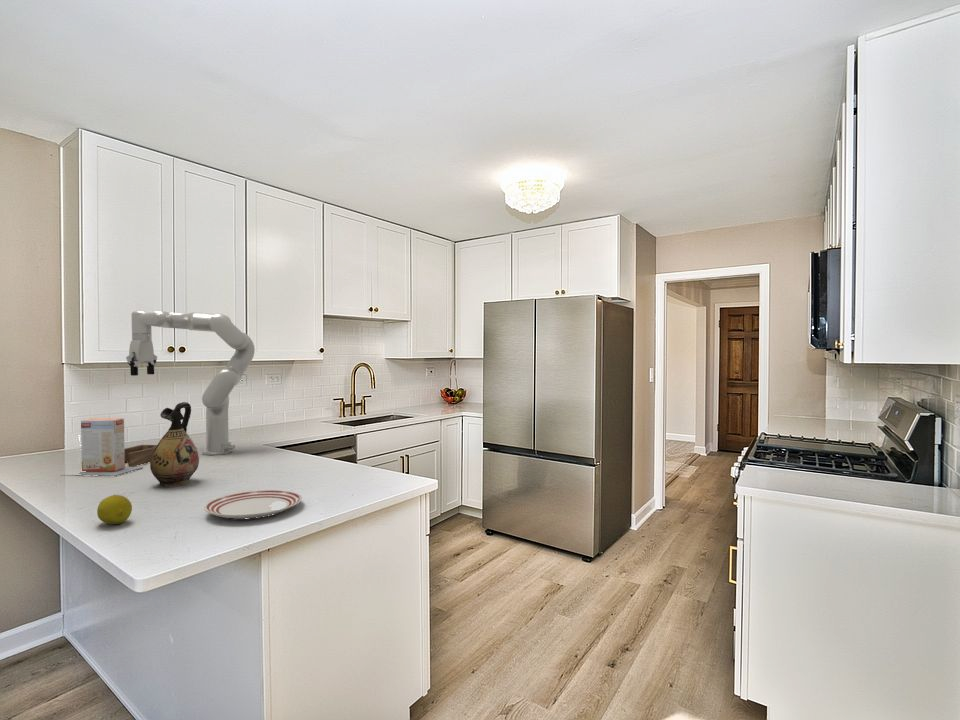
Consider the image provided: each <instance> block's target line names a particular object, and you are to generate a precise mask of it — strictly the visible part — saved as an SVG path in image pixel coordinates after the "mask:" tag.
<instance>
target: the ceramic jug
mask: <svg viewBox="0 0 960 720" xmlns="http://www.w3.org/2000/svg"><path fill="white" fill-rule="evenodd" d="M182 409H184V414H183V413H182V412H181V411H182ZM191 413H192V406H191V404H190V403H189V402H186V401H182V402H179V403H177V404H176V405H175V406H174V408H173V409H172V408H169V407H166V408H164V409H163V410H161V411H160V417H161V419H164V420H166V421H169V422H171V424H170V427H169V428H168V430H167V431H166V433H164V435H163V436H162V438H161V439H160V440H159V442H158V443H157V444H156V445H157V446H156V448H155V450H154V452H153V454H152V458H151V462H150V463H149V464H150V465H149V466H150V468H149V469H150V471H151V474H152V475H153V477H154V478H155V479H156V480H157V481H158V483H159V486H160V487H162V486H163V487H162V488H164V487H170V486H172V487H178V485H180V486H182V484H183V485H186V484H188V483H189V481H190V480H191V477H192V476H193V475H194V474H195V472H196V471H197V470H198V468H199V464H200V457H199V456H200V455H199V451H198V448H197V446H196V445H195V443H194V441H193V440H192V438H191V437H190V435H189V434H188V432H187V431H188V424H189V421H190V418H191ZM185 483H186V484H185Z"/></svg>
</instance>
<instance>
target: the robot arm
mask: <svg viewBox="0 0 960 720" xmlns="http://www.w3.org/2000/svg"><path fill="white" fill-rule="evenodd" d="M152 327H158V328H165V329H166V328H167V329H177V330H178V329H180V330H181V329H182V330H190V331H197V332H198V331H199V332H212V333H215V334H216V335H217V336H219V338H220V339H222V340H223V341H224V343H226V345H228V346H229V347H230V348H232V349H234V350H235V352H234V353H233V355H232V357H231V358H230V359H229V361H228V362H227V364H226V366H225V367H224V368H222V369H220V370H219V371H218V372H216V374H215V375H214V376H213V378H212V380H211V381H210V383H209V385H208V386H207V388H206V389H205V390H204V392H203V394H202V397H201V400H202V404H203V405H204V406H205V407H206V412H205V430H206V431H205V437H206V440H205V441H206V449H204V450H203V451H202V454H203V455H205V456H206V455H207V456H217V455H225V454H230V453H232V452H233V450H235V449H236V446H237V445H234V444H231V443H232V442H229V440H230V439H229V433H230V432H229V408H230V407H229V405H230V397H229V395H230V394H231V392H233V391H232V390H233V389H234V388H235V386H237V385H238V384H239V383H240V380H241V379H242V377H243V375H244V374H245V372H246V371H247V369H248V367H249V366H250V364H251V363H252V361H253V359H254V356H255V350H256V349H255V344H254V342H253V340H252V339H251V337H250V336H249V335H248V334H247V333H245V332H243V331H241V330H240V328H238V327H237V326H236V325H235V324H234V323H233V322H232V320H231V318H230V317H229V316H228V315H225V314H222V313H207V312H206V313H203V312H189V313H182V312H181V313H179V312H167V311H163V310H150V311H147V310H133V311H132V312H131V340H130V343H129V348H128V355H127V356H126V357H125V360H126V362H127V364H128V366H129V367H130V376H135V377H136V376H139V367H138V365H139V363H146V364H147V366H146V374H147V375H155V366H156V363H157V360H158V355H155V352H154V344H153V339H152V338H153V337H152Z"/></svg>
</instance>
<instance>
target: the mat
mask: <svg viewBox="0 0 960 720" xmlns="http://www.w3.org/2000/svg"><path fill="white" fill-rule="evenodd" d="M142 468H143V466H142V467H141V466H135V467H128V466H125V468H124V469H121V470H118V471H86V472H80V473H79V474H81V475H98V476H116V477H118V476H117V475H120V476H122V475H121V474H123V475H125V474H124V473H126V474H129V473H128V472H130V473H132V472H131V471H133V472H136V471H135V470H137V471H139V469H140V470H143V469H144V468H143V469H142ZM98 476H97V477H98Z"/></svg>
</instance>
